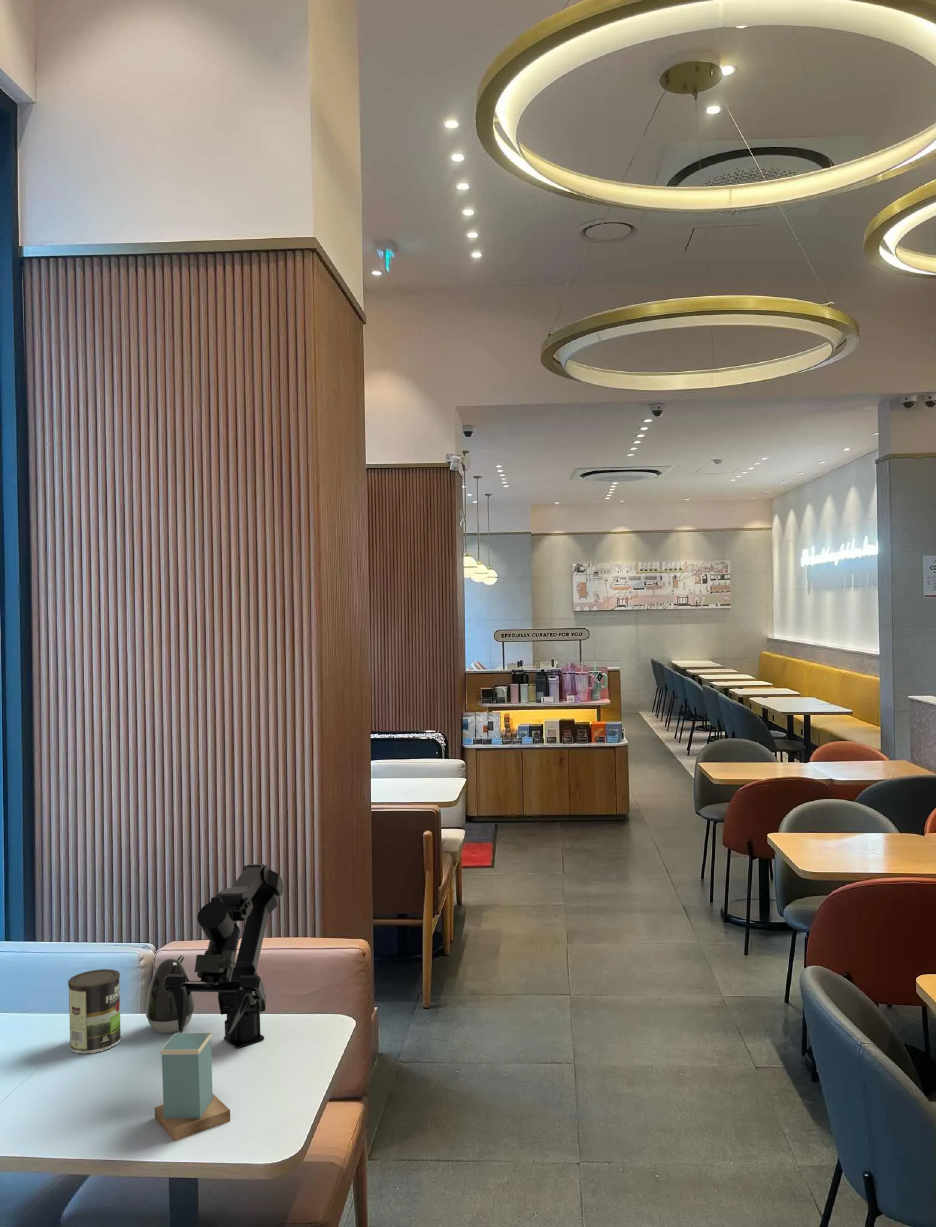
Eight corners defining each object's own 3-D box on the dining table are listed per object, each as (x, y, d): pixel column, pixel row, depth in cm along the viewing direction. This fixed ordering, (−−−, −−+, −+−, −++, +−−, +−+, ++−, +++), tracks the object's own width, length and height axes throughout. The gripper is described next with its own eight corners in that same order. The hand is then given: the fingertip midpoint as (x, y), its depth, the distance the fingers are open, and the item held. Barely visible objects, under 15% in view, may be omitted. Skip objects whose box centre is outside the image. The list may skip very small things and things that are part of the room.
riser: (208, 1103, 173) (208, 1089, 173) (230, 1124, 165) (230, 1110, 165) (154, 1121, 167) (154, 1107, 167) (174, 1144, 159) (174, 1129, 159)
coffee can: (128, 1033, 204) (127, 968, 204) (109, 1054, 194) (108, 985, 194) (82, 1034, 204) (80, 969, 204) (60, 1055, 194) (59, 987, 194)
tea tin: (177, 1099, 169) (175, 1033, 169) (213, 1099, 169) (211, 1032, 169) (163, 1119, 162) (160, 1050, 163) (200, 1119, 162) (198, 1050, 162)
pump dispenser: (204, 1020, 209) (202, 952, 209) (177, 1040, 199) (176, 969, 199) (164, 1017, 212) (163, 950, 212) (136, 1036, 202) (135, 965, 202)
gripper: (165, 933, 180) (144, 1014, 169) (261, 934, 180) (245, 1016, 169) (179, 958, 188) (159, 1037, 177) (270, 959, 188) (256, 1039, 177)
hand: (204, 1032), depth 175 cm, fingers open, 9 cm apart
